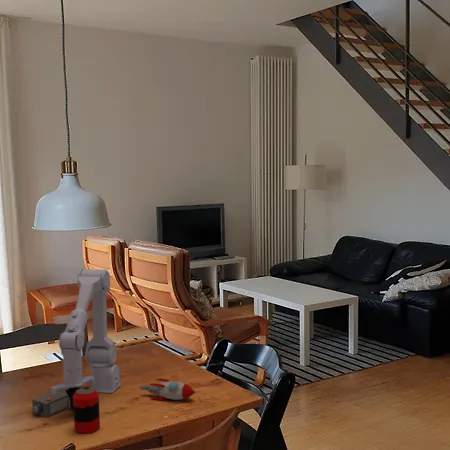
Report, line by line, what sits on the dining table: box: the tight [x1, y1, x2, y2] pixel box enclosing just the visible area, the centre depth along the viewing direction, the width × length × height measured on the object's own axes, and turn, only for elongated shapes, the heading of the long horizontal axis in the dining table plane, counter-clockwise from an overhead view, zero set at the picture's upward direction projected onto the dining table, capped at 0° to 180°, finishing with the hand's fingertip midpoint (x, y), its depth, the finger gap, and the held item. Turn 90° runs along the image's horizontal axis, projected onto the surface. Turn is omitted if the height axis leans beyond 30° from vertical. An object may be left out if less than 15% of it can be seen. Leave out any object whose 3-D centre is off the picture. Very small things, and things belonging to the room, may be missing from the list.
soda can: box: [73, 386, 101, 435], centre depth 188 cm, size 8×8×12 cm
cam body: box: [31, 391, 70, 418], centre depth 203 cm, size 7×12×5 cm, turn 146°
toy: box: [139, 378, 196, 401], centre depth 212 cm, size 21×7×7 cm
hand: (74, 409), depth 199 cm, fingers closed, pressing on side door
